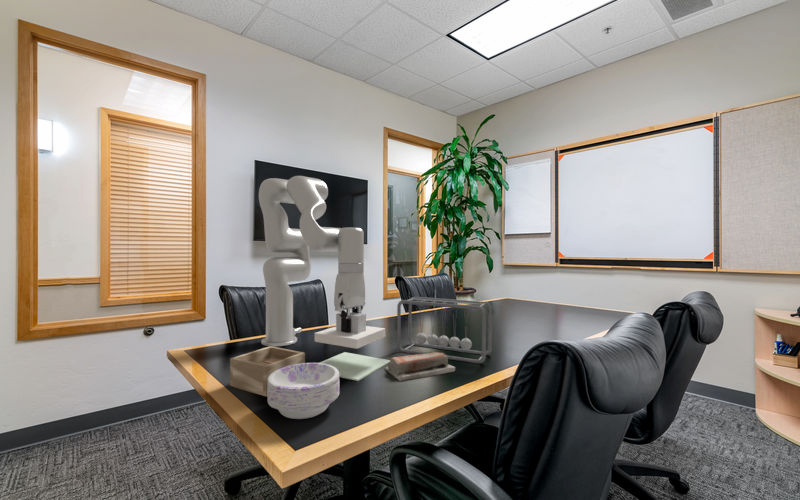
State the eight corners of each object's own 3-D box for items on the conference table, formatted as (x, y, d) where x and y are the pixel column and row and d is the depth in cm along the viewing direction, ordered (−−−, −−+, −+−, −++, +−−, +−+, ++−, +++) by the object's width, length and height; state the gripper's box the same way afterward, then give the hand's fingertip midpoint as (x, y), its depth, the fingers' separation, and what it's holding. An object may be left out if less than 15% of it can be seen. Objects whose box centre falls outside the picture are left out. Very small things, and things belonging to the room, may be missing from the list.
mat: (344, 353, 118) (344, 352, 118) (391, 361, 110) (391, 360, 110) (306, 369, 102) (306, 368, 102) (357, 381, 94) (357, 379, 94)
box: (270, 370, 102) (270, 346, 101) (304, 378, 95) (304, 352, 95) (230, 386, 90) (230, 358, 90) (266, 396, 84) (266, 367, 84)
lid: (345, 330, 116) (345, 308, 116) (385, 336, 109) (385, 312, 109) (314, 341, 103) (314, 315, 103) (357, 348, 96) (357, 321, 96)
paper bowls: (276, 434, 67) (276, 393, 67) (260, 404, 80) (260, 369, 80) (350, 415, 75) (350, 377, 75) (325, 390, 88) (325, 358, 88)
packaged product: (399, 364, 94) (384, 354, 103) (399, 383, 94) (384, 371, 103) (456, 356, 102) (437, 347, 111) (456, 372, 102) (437, 362, 111)
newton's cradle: (396, 351, 121) (396, 299, 121) (409, 344, 130) (409, 296, 130) (485, 365, 108) (485, 306, 108) (491, 355, 117) (492, 302, 117)
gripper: (356, 267, 115) (356, 323, 115) (322, 270, 100) (322, 334, 100) (376, 268, 111) (376, 326, 112) (344, 271, 97) (343, 338, 97)
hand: (350, 329), depth 106 cm, fingers closed on lid, 4 cm apart
